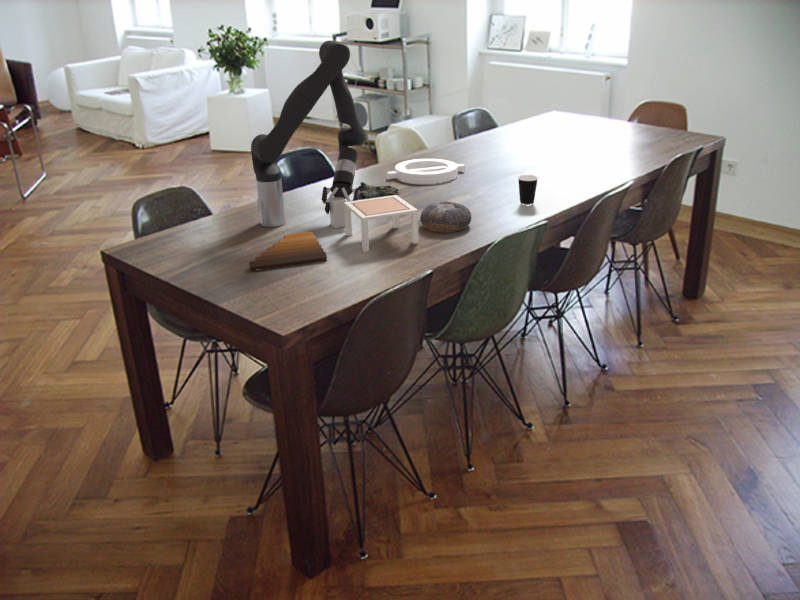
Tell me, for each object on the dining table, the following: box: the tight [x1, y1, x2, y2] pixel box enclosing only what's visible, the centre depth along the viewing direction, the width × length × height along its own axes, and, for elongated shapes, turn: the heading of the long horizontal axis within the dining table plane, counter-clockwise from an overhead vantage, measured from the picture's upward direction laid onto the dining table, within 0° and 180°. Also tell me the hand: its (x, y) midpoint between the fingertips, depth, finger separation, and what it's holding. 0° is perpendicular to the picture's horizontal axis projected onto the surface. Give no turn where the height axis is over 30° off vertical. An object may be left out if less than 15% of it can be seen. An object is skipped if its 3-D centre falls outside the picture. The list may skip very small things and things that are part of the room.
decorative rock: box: [357, 181, 400, 199], centre depth 325 cm, size 19×6×15 cm
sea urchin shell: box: [419, 200, 472, 234], centre depth 284 cm, size 19×19×10 cm
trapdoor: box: [353, 198, 408, 216], centre depth 270 cm, size 15×15×1 cm
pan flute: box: [248, 231, 328, 271], centre depth 263 cm, size 25×3×25 cm
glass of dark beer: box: [517, 174, 539, 205], centre depth 305 cm, size 8×8×11 cm
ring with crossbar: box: [386, 158, 466, 185], centre depth 349 cm, size 28×28×5 cm
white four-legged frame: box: [344, 194, 419, 253], centre depth 272 cm, size 20×20×12 cm
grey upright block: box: [328, 197, 347, 229], centre depth 288 cm, size 5×5×10 cm
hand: (337, 213), depth 286 cm, fingers closed on grey upright block, 7 cm apart
